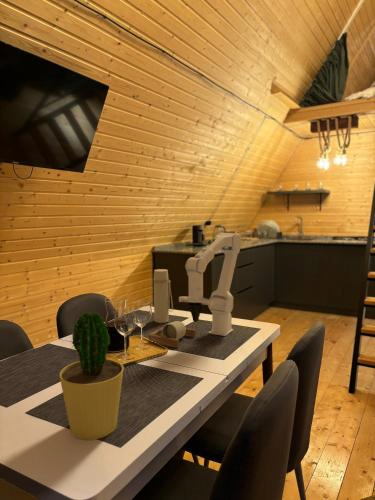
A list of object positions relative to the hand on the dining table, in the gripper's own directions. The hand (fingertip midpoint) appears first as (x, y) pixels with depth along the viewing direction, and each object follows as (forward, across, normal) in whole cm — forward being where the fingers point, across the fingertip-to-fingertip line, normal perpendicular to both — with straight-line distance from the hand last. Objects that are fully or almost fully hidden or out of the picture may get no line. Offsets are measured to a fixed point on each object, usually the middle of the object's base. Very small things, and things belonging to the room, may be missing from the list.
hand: (195, 321), depth 154 cm
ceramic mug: (+10, -12, 0) cm, 15 cm away
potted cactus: (+10, +5, -64) cm, 65 cm away
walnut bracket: (+9, -11, 0) cm, 14 cm away
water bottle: (+10, -28, +20) cm, 35 cm away
